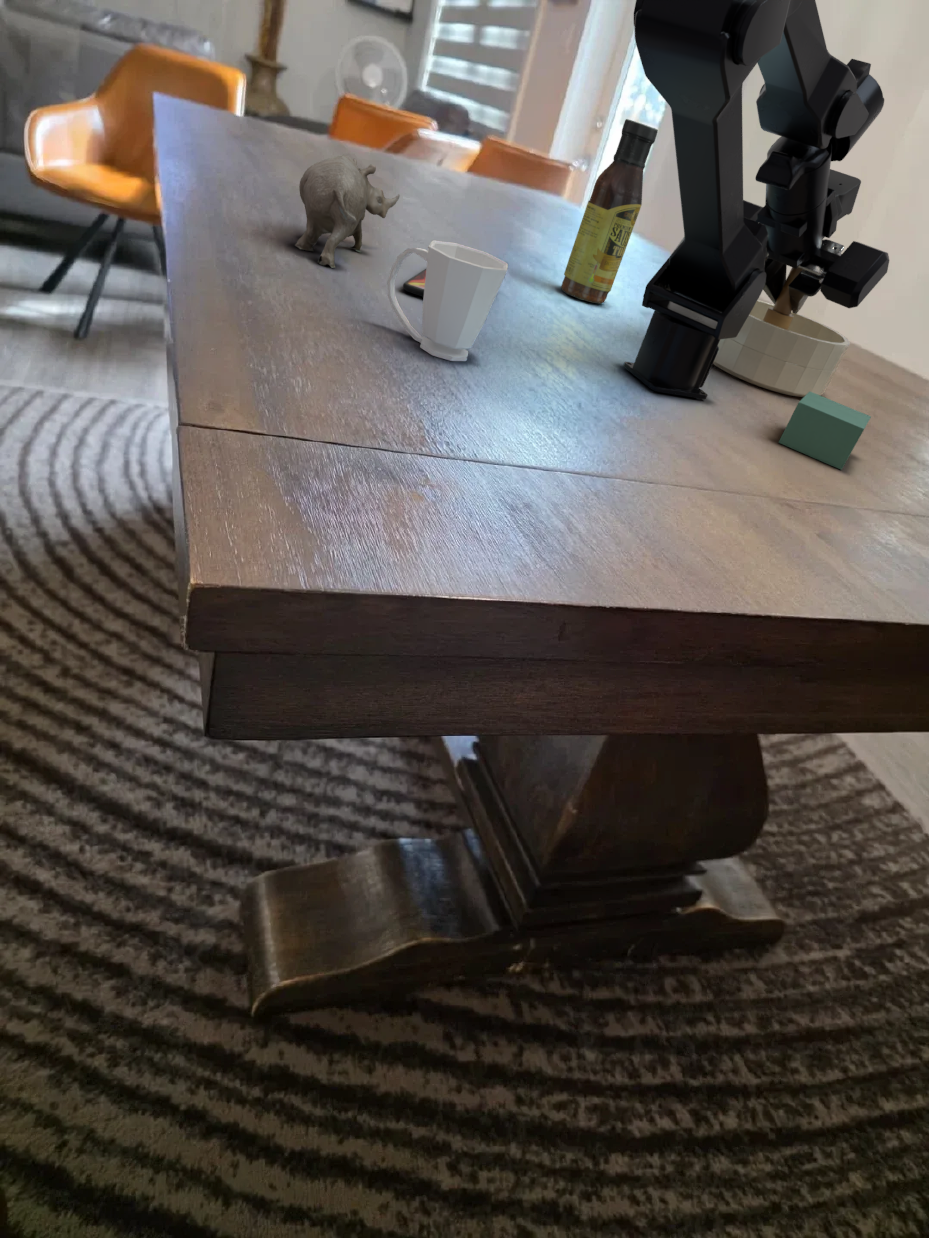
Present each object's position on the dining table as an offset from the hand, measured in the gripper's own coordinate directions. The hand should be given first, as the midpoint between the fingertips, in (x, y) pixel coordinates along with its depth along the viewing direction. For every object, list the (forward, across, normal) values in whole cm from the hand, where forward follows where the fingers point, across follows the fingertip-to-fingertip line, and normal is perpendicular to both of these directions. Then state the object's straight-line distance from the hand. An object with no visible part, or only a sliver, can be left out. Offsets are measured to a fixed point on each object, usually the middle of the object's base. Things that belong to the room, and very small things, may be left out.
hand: (788, 307), depth 98 cm
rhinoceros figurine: (-20, +36, +31) cm, 52 cm away
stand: (-9, -16, +20) cm, 27 cm away
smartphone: (-16, +24, +26) cm, 39 cm away
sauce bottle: (+2, +23, +9) cm, 25 cm away
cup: (-27, +10, +39) cm, 48 cm away
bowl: (+4, -1, +7) cm, 8 cm away
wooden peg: (+2, 0, +4) cm, 4 cm away
